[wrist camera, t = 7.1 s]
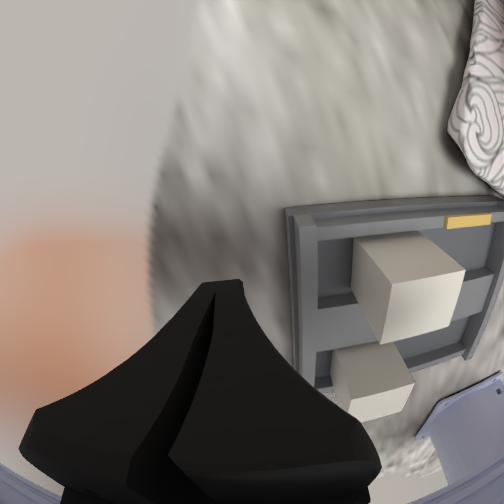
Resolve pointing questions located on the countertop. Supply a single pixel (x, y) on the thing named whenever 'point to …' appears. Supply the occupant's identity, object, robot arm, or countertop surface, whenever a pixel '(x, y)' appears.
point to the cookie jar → (483, 97)
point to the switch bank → (340, 271)
